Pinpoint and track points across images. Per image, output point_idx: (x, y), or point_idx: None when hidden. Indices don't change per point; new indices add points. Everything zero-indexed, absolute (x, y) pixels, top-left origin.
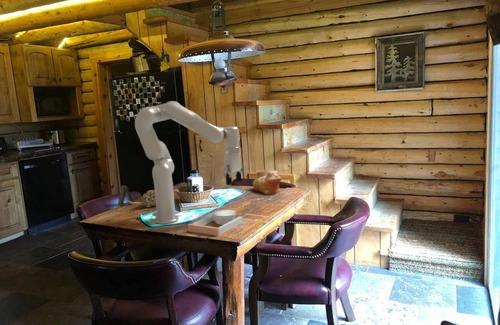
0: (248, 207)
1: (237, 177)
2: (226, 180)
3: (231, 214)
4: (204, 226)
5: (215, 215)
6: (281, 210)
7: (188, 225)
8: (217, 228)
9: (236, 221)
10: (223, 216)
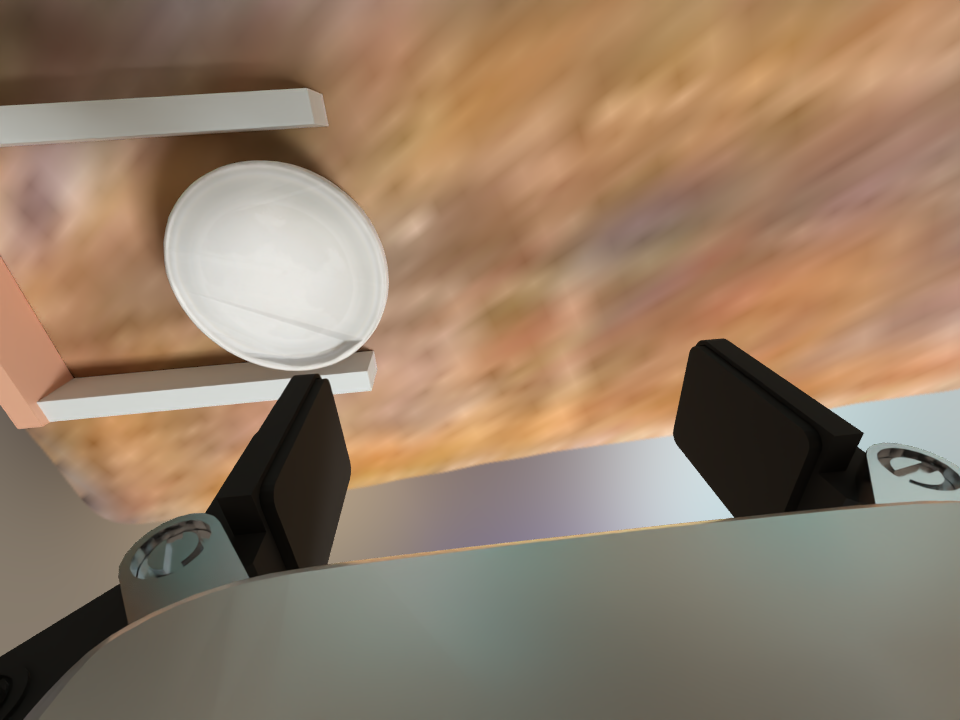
0: (759, 175)
1: (731, 422)
2: (262, 442)
3: (308, 342)
4: None
5: (164, 248)
6: None
7: None
8: (21, 425)
9: None
10: (203, 332)
